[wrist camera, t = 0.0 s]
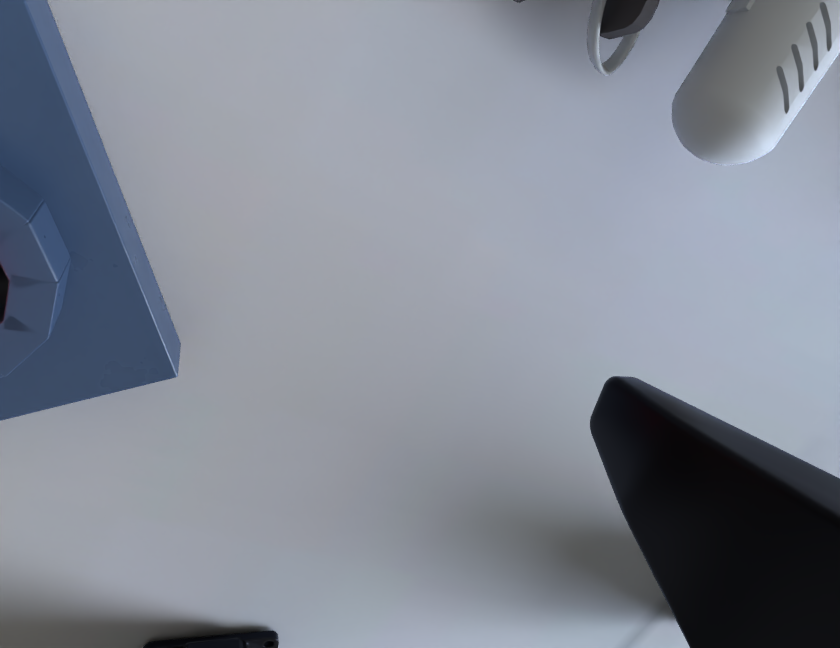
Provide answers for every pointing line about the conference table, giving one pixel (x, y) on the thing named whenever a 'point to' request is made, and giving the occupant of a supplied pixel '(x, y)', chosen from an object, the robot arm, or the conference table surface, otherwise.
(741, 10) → the clip-on lamp
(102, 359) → the switch block
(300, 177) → the conference table surface
